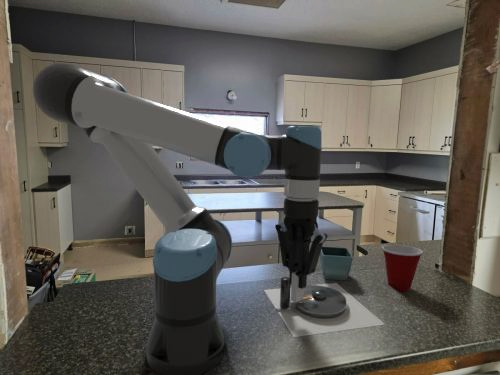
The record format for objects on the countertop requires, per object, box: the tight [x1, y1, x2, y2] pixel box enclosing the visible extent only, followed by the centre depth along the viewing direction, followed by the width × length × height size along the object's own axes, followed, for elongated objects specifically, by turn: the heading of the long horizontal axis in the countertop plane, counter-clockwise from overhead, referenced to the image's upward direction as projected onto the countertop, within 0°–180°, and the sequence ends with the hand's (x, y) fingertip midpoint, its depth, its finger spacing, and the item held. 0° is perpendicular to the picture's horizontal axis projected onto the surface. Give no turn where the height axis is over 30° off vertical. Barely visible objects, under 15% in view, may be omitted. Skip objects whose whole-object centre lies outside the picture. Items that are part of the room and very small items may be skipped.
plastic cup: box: [381, 244, 424, 293], centre depth 94 cm, size 11×11×12 cm
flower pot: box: [319, 245, 354, 281], centre depth 99 cm, size 9×9×9 cm
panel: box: [263, 282, 385, 338], centre depth 81 cm, size 22×22×2 cm
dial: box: [280, 276, 346, 319], centre depth 80 cm, size 17×13×8 cm
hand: (297, 299), depth 74 cm, fingers closed
